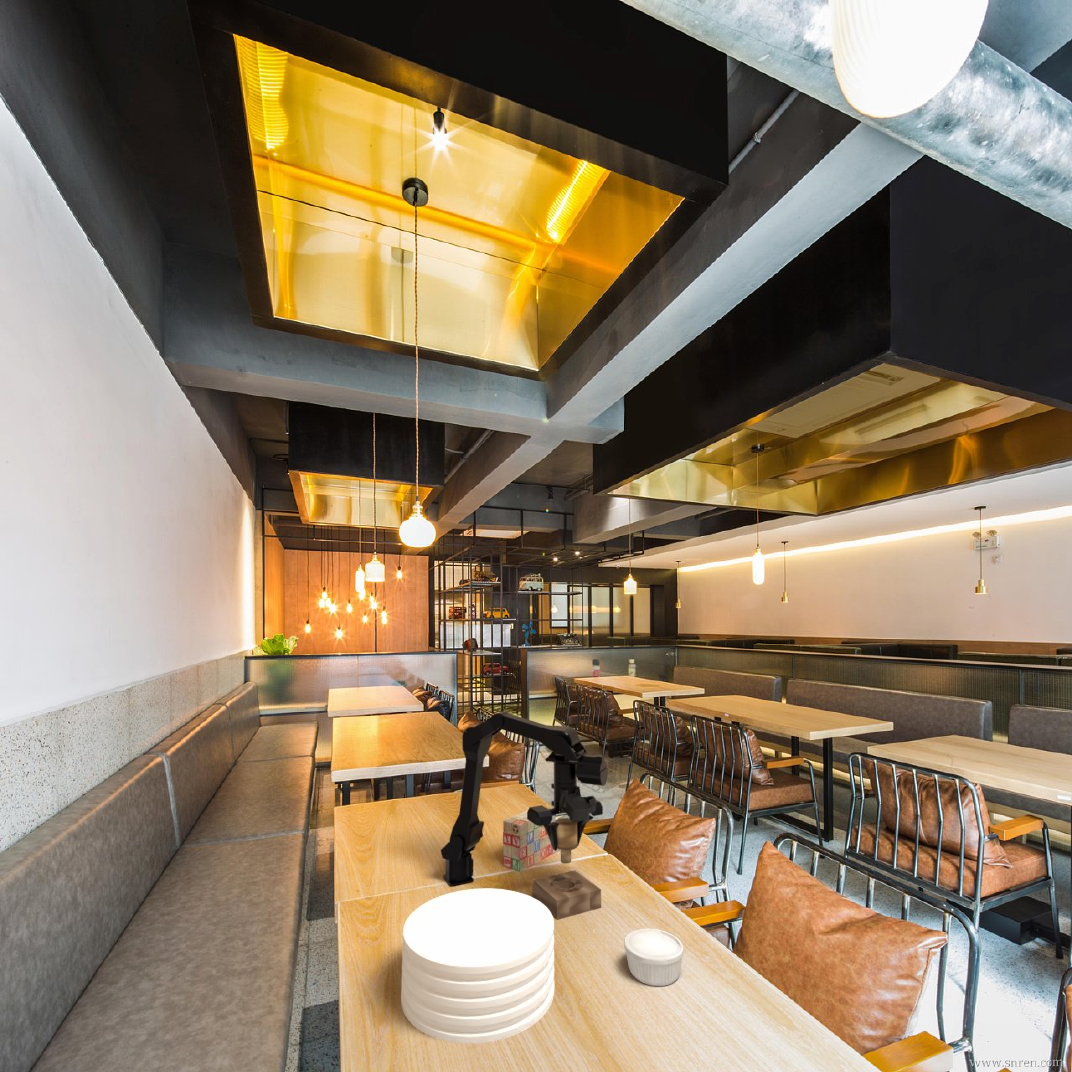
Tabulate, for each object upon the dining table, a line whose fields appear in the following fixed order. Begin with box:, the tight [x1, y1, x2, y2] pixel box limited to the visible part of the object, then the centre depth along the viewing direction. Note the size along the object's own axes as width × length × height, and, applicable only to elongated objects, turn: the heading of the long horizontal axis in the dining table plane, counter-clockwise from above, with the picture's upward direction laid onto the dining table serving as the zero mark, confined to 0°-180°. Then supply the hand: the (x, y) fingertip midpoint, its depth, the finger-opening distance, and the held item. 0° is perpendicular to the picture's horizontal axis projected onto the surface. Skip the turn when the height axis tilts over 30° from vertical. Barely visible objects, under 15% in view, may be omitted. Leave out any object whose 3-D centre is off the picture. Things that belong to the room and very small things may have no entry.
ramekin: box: [623, 928, 685, 987], centre depth 111 cm, size 11×11×5 cm
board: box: [532, 870, 602, 920], centre depth 139 cm, size 12×12×4 cm
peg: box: [556, 817, 579, 864], centre depth 141 cm, size 6×6×9 cm
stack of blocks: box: [502, 809, 565, 873], centre depth 167 cm, size 21×6×12 cm, turn 143°
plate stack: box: [400, 887, 555, 1045], centre depth 107 cm, size 28×28×12 cm
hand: (565, 848), depth 141 cm, fingers closed on peg, 6 cm apart
